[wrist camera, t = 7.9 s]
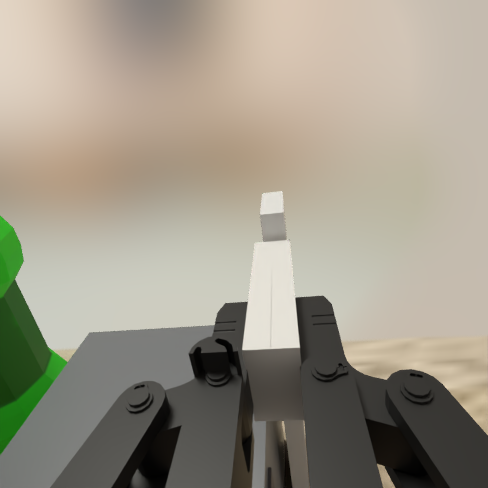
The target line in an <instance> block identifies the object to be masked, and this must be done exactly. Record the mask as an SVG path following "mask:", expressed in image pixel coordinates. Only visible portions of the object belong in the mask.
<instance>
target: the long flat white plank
mask: <svg viewBox="0 0 488 488" xmlns="http://www.w3.org/2000/svg"><path fill="white" fill-rule="evenodd" d="M260 219H261V227H262V235H263V242H269V241H280V240H287V236H286V225H285V215H284V204H283V193H282V191H280V192H271V193H263V194H262V201H261V210H260ZM284 424H285V432H286V440H287V448H288V455H289V463H290V471H291V479H292V487H293V488H309V477H308V466H307V454H306V442H305V430H304V420H300V421H284Z"/></svg>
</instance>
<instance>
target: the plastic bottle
mask: <svg viewBox="0 0 488 488" xmlns="http://www.w3.org/2000/svg"><path fill="white" fill-rule="evenodd" d="M23 261H24V260H23V254H22V249H21V244H20V241H19V240H18V237H17V235H16V233H15V231H14V228H13V227H12V226H11V225H10V224H9V223H8V222H7V221H5V220H4V219H3V218H2V217H1V216H0V455H1V454H2V452H3V451H4V449H5V448H6V447H7V445H8V444H9V443H10V441H11V440H12V438H13V437H14V436H15V434H16V433H17V432H18V430H19V429H20V427H21V426H22V425H23V423H24V422H25V421H26V419H27V418H28V416H29V415H30V414H31V412H32V411H33V410H34V408H35V407H36V405H37V404H38V403H39V401H40V400H41V399H42V397H43V396H44V394H45V393H46V392H47V390H48V389H49V388H50V386H51V385H52V384H53V382H54V381H55V379H56V378H57V377H58V375H59V374H60V373H61V371H62V370H63V368H64V367H65V366H66V364H67V363H68V362H67V361H65V360H64V359H63V358H62V357H60V356H59V355H58V354H56V353H55V352H54V351H53V350H51V349H50V348H49V347H48V346H47V344H46V342H45V340H44V338H43V336H42V334H41V332H40V330H39V328H38V326H37V324H36V322H35V320H34V317H33V315H32V313H31V311H30V309H29V307H28V305H27V303H26V301H25V299H24V297H23V295H22V293H21V291H20V289H19V287H18V285H17V283H16V281H15V278H16V276H17V274H18V272H19V270H20V268H21V266H22V264H23Z"/></svg>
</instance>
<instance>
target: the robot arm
mask: <svg viewBox="0 0 488 488" xmlns="http://www.w3.org/2000/svg"><path fill="white" fill-rule="evenodd" d="M188 354H189V358H190V362H191V365H192V369H193V373H194V379H192V380H191V381H189V382H187V383H185V384H182V385H180V386H177V387H173V388H170V389H167V390H165V389H164V388H163V387H162V385H161V384H160V383H157V382H155V381H143V382H140V383H136V384H134V385H132V386H131V387H129V388H127V389H126V390H125V391H124V392H123V393H122V394H121V395H120V396H119V397H118V398H117V400H116V401H115V402H114V404H113V405H112V406H111V408H110V409H109V410H108V412H107V413H106V414H105V416H104V417H103V418H102V420H101V421H100V422H99V424H98V425H97V426H96V428H95V429H94V430H93V432H92V433H91V434H90V435H89V437H88V438H87V439H86V441H85V442H84V443H83V445H82V446H81V447H80V449H79V450H78V451H77V453H76V454H75V455H74V457H73V458H72V459H71V461H70V462H69V463H68V465H67V466H66V467H65V469H64V470H63V471H62V473H61V474H60V475H59V476H58V478H57V479H56V480H55V482H54V483H53V484H52V486H51V487H50V488H252V478H253V459H254V434H253V428H252V424H253V414H254V420H255V421H300V420H304V422H305V434H306V446H307V458H308V470H309V482H310V488H383V486H382V482H381V478H380V474H379V470H378V467H377V464H380V465H383V466H385V469H386V471H387V473H388V474H389V476H390V478H391V480H392V482H393V484H394V486H395V488H488V435H487V434H486V433H485V432H484V431H483V430H482V429H481V427H480V426H479V425H478V424H477V423H476V422H475V421H474V420H473V418H472V417H471V416H470V415H469V414H468V413H467V412H466V410H465V409H464V408H463V407H462V406H461V405H460V404H459V402H458V401H457V400H456V399H455V398H454V397H453V396H452V395H451V393H450V392H449V391H448V390H447V389H446V388H445V387H444V385H443V384H441V383H440V382H439V381H438V380H437V379H436V378H434V377H433V376H431V375H429V374H426V373H424V372H422V371H417V370H412V369H409V370H399V371H397V372H395V373H393V374H391V376H390V377H389V378H388V379H387V380H384V379H380V378H375V377H371V376H368V375H364V374H363V373H361V372H359V371H357V370H356V369H354V368H353V367H352V366H351V365H350V364H349V363H348V362H347V360H346V357H345V355H344V351H343V347H342V343H341V339H340V335H339V331H338V327H337V324H336V319H335V316H334V311H333V307H332V304H331V303H330V302H329V301H328V300H327V299H326V298H325V297H324V296H313V297H298V298H295V291H294V280H293V270H292V259H291V248H290V240H280V241H269V242H259V243H255V246H254V255H253V263H252V271H251V280H250V288H249V297H248V302H238V303H225V304H224V306H223V307H222V308H221V309H220V310H219V312H218V313H217V317H216V322H215V326H214V330H213V334H212V336H211V337H207V338H205V339H202V340H200V341H198V342H197V343H196V344H195V345H194V346H193V347H192V348H191V350H190V352H189V353H188Z"/></svg>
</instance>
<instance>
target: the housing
mask: <svg viewBox="0 0 488 488" xmlns="http://www.w3.org/2000/svg"><path fill="white" fill-rule="evenodd" d="M214 326H215V325H213V326H196V327H180V328H161V329H145V330H127V331H111V332H93V333H89V334H88V336H87V337H86V338H85V340H84V341H83V342H82V344H81V345H80V347H79V348H78V349H77V351H76V352H75V353H74V355H73V356H72V357H71V359H70V360H69V362H68V363H67V364H66V366H65V367H64V368H63V370H62V371H61V373H60V374H59V375H58V377H57V378H56V379H55V381H54V382H53V384H52V385H51V386H50V388H49V389H48V390H47V392H46V393H45V394H44V396H43V397H42V399H41V400H40V401H39V403H38V404H37V405H36V407H35V408H34V410H33V411H32V412H31V414H30V415H29V416H28V418H27V419H26V421H25V422H24V423H23V425H22V426H21V427H20V429H19V430H18V432H17V433H16V434H15V436H14V437H13V438H12V440H11V441H10V443H9V444H8V445H7V447H6V448H5V449H4V451H3V452H2V454H1V455H0V488H50V487H51V486H52V484H53V483H54V482H55V480H56V479H57V478H58V476H59V475H60V474H61V473H62V471H63V470H64V469H65V467H66V466H67V465H68V463H69V462H70V461H71V459H72V458H73V457H74V455H75V454H76V453H77V451H78V450H79V449H80V447H81V446H82V445H83V443H84V442H85V441H86V439H87V438H88V437H89V435H90V434H91V433H92V432H93V430H94V429H95V428H96V426H97V425H98V424H99V422H100V421H101V420H102V418H103V417H104V416H105V414H106V413H107V412H108V410H109V409H110V408H111V406H112V405H113V404H114V402H115V401H116V400H117V398H118V397H119V396H120V395H121V394H122V393H123V392H124V391H125V390H126V389H127V388H129V387H131V386H132V385H134V384H136V383H140V382H143V381H155V382H157V383H160V384H161V385H162V387H163V388H164V389H165V390H167V389H170V388H173V387H177V386H180V385H182V384H185V383H187V382H189V381H191V380H192V379H194V373H193V369H192V365H191V362H190V358H189V354H188V353H189V352H190V350H191V348H192V347H193V346H194V345H195V344H196V343H197V342H198V341H200V340H202V339H205V338H207V337H211V336H212V334H213V330H214ZM252 428H253V434H254V459H253V478H252V488H285V462H284V436H283V428H282V421H255V420H254V414H253V424H252ZM292 488H293V487H292Z"/></svg>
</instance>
